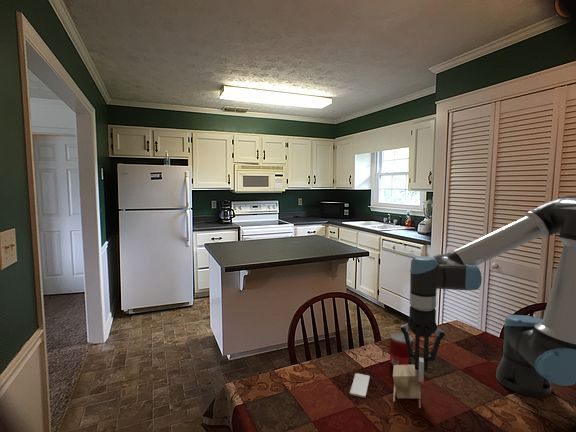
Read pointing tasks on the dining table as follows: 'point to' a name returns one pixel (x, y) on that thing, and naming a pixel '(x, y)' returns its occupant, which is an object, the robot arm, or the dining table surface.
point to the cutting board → (365, 386)
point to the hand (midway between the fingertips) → (420, 379)
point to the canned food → (399, 350)
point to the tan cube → (406, 381)
